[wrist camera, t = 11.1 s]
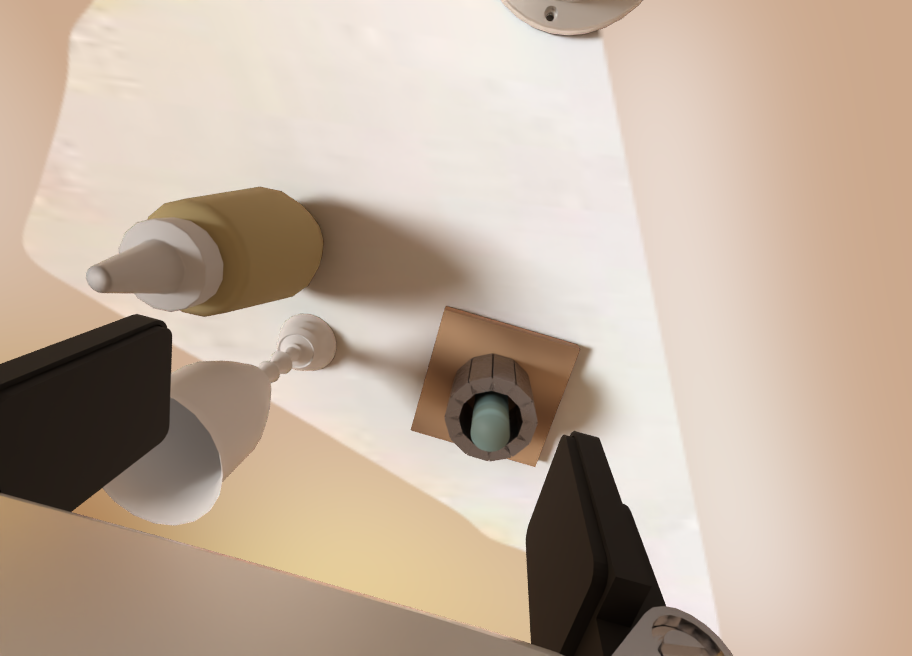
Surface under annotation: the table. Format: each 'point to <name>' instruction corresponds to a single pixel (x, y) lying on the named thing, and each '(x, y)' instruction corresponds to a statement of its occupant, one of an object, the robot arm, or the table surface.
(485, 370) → the ring
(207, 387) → the chalice
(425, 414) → the post stand
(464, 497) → the table surface
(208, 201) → the squeeze bottle
